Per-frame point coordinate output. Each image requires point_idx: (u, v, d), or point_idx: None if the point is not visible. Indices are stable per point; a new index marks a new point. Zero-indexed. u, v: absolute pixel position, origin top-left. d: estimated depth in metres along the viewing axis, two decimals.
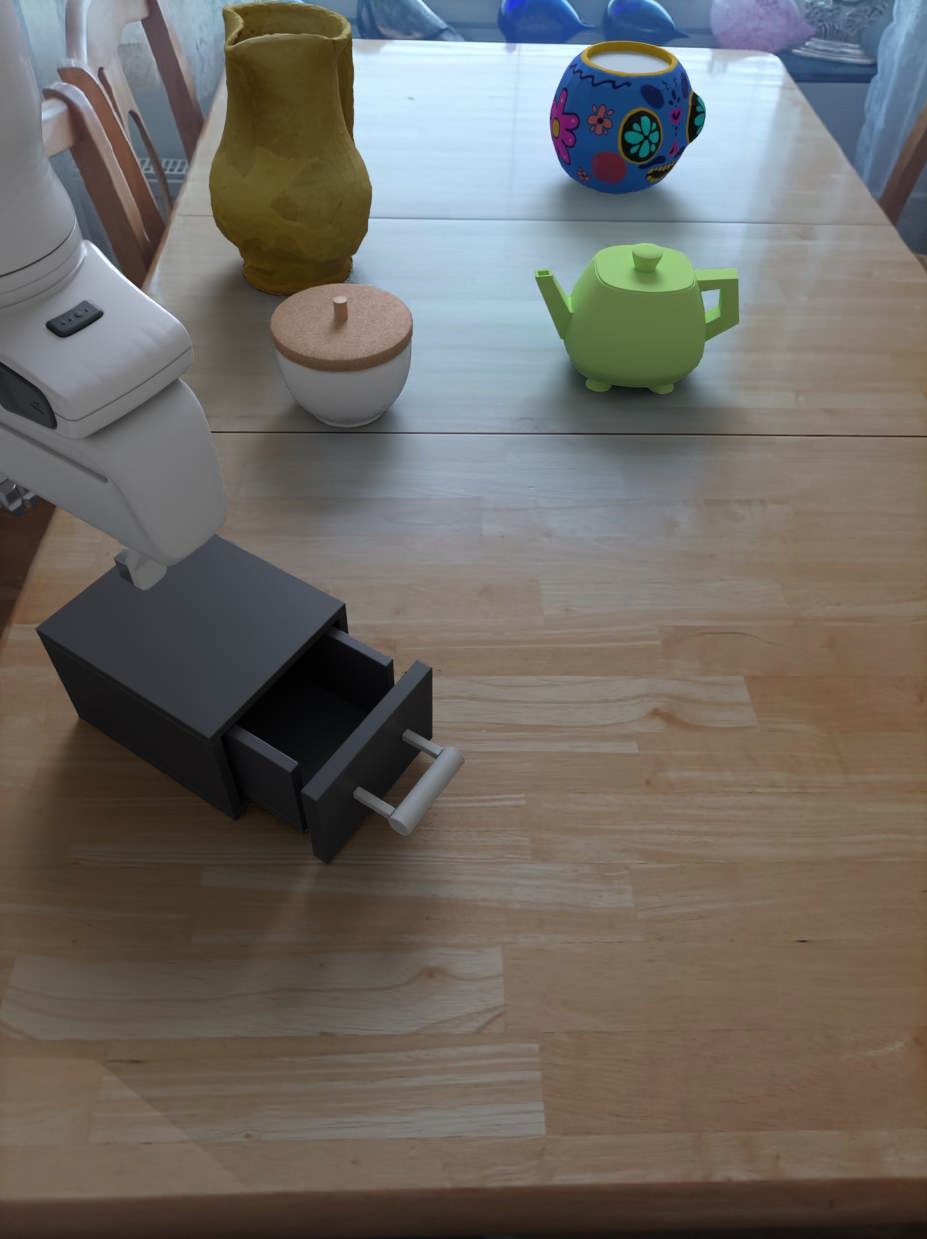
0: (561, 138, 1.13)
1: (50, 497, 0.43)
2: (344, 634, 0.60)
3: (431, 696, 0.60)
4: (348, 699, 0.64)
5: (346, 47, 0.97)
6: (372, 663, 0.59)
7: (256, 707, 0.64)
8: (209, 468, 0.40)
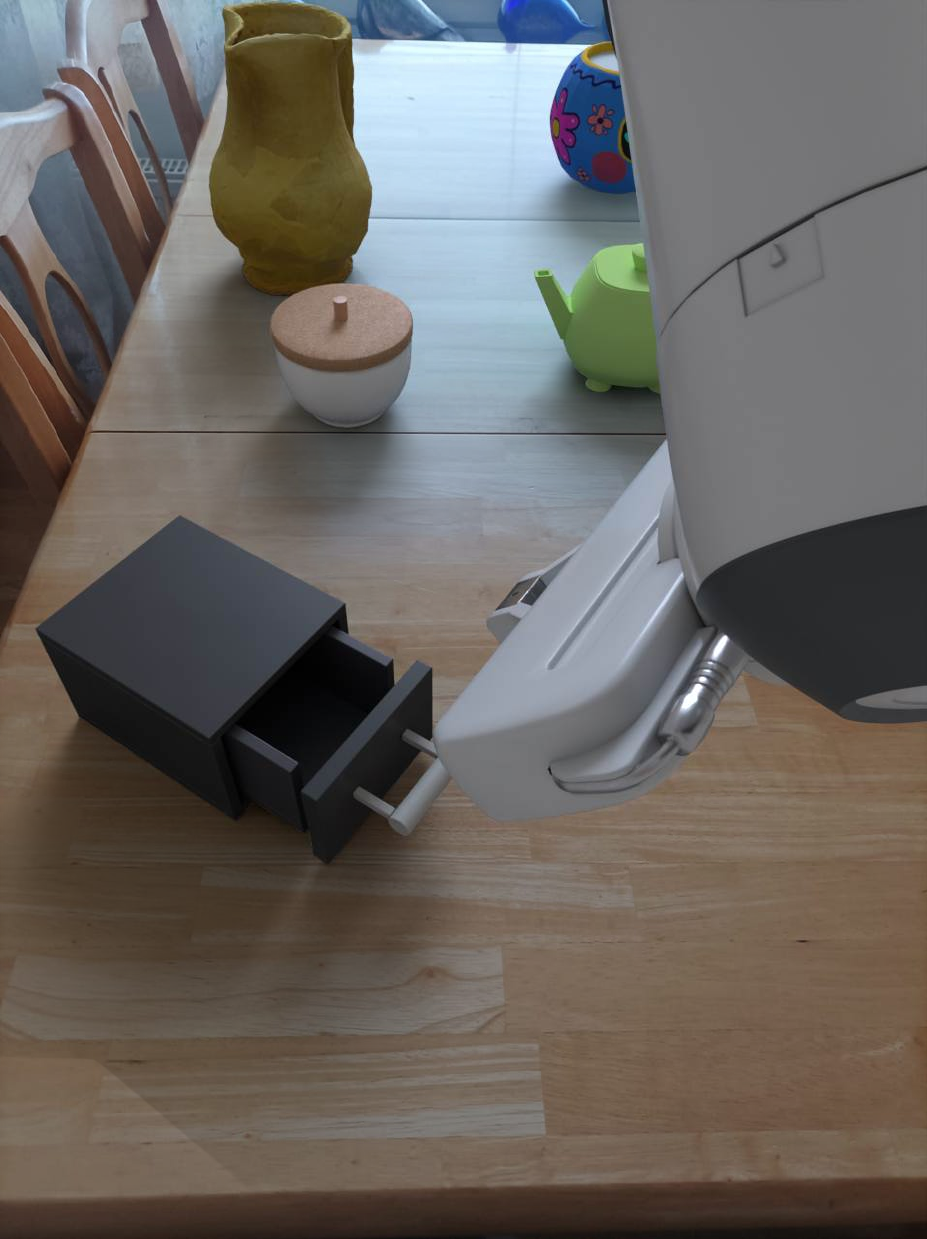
0: (561, 138, 1.13)
1: None
2: (344, 634, 0.60)
3: (431, 696, 0.60)
4: (348, 699, 0.64)
5: (346, 47, 0.97)
6: (372, 663, 0.59)
7: (256, 707, 0.64)
8: None
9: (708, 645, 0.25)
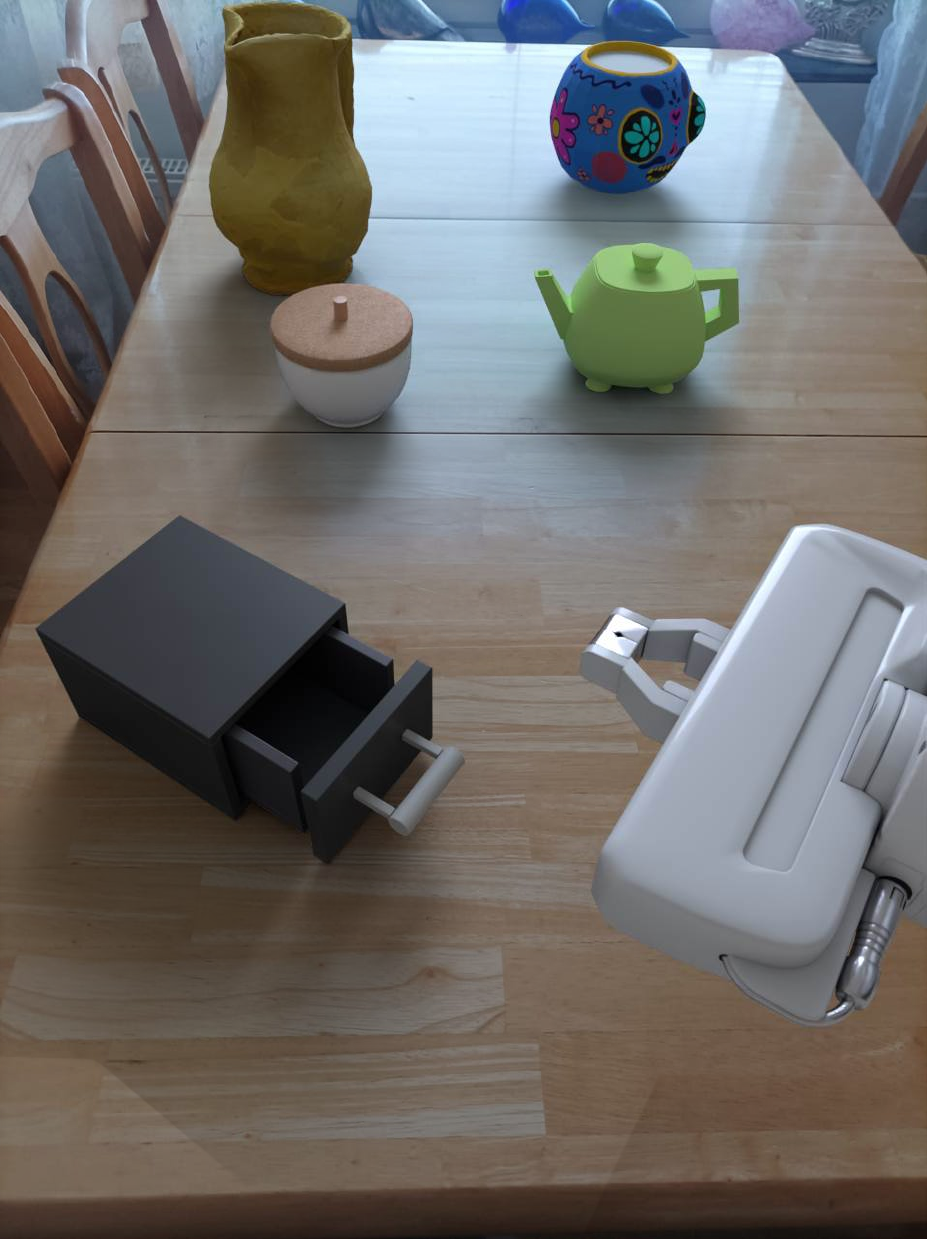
0: (561, 138, 1.13)
1: None
2: (344, 634, 0.60)
3: (431, 696, 0.60)
4: (348, 699, 0.64)
5: (346, 47, 0.97)
6: (372, 663, 0.59)
7: (256, 707, 0.64)
8: None
9: (880, 907, 0.30)
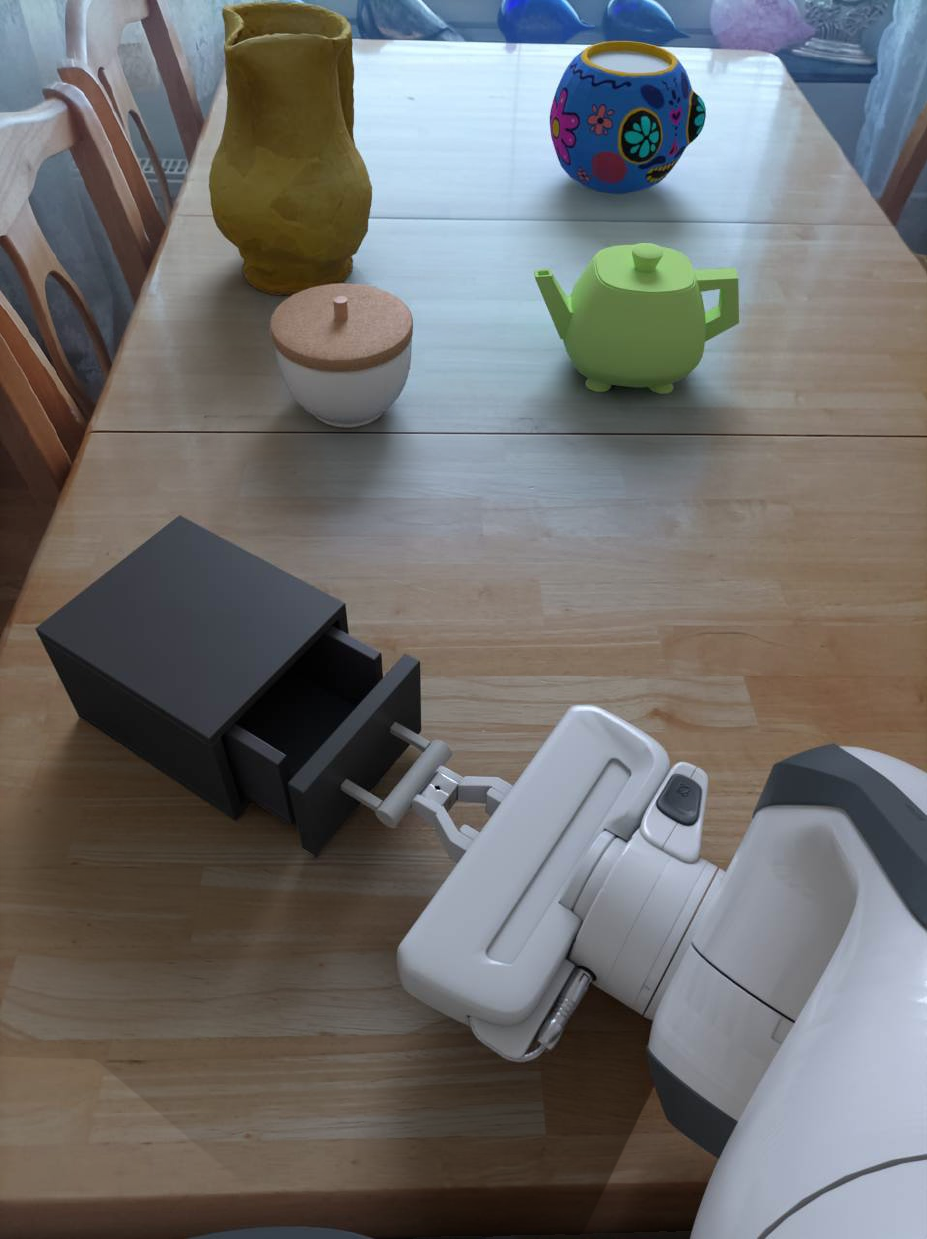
0: (561, 138, 1.13)
1: None
2: (333, 628, 0.60)
3: (419, 689, 0.60)
4: (337, 693, 0.64)
5: (346, 47, 0.97)
6: (360, 656, 0.59)
7: None
8: None
9: (572, 987, 0.48)
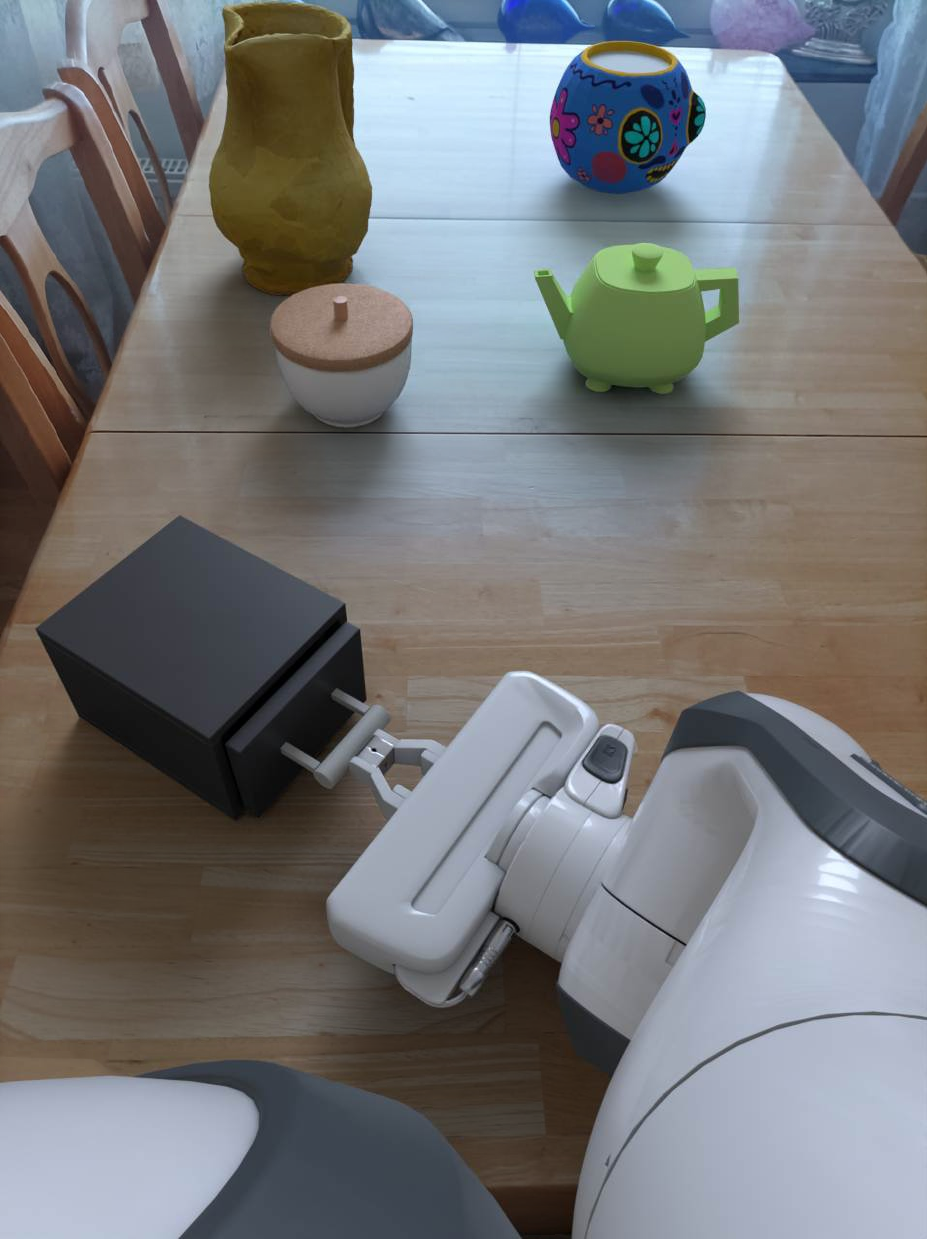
0: (561, 138, 1.13)
1: None
2: None
3: (361, 657, 0.62)
4: None
5: (346, 47, 0.97)
6: None
7: None
8: None
9: (495, 937, 0.50)
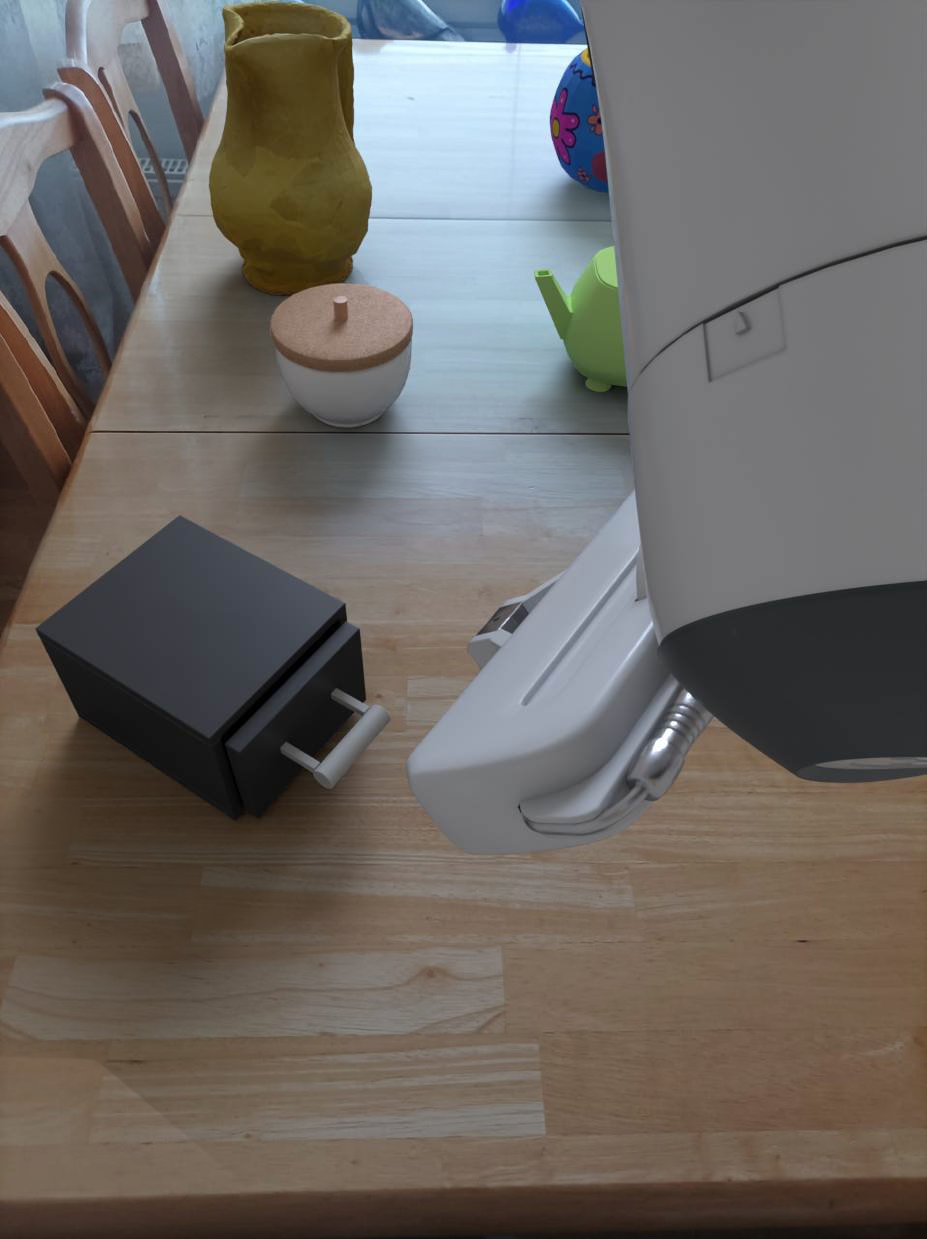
0: (561, 138, 1.13)
1: None
2: None
3: (361, 657, 0.62)
4: None
5: (346, 47, 0.97)
6: None
7: None
8: None
9: (681, 688, 0.25)
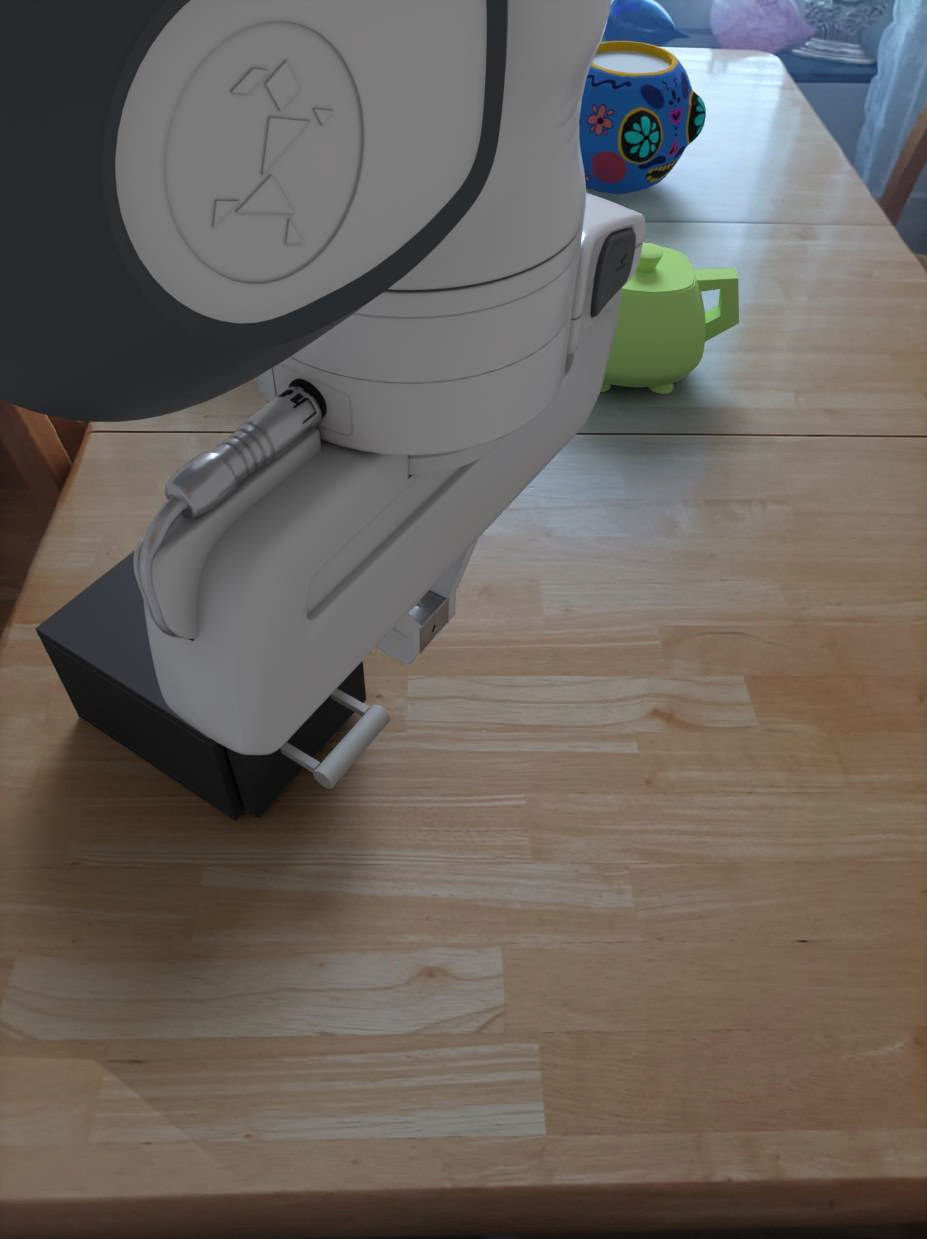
0: None
1: (494, 513, 0.32)
2: None
3: None
4: None
5: None
6: None
7: None
8: None
9: None
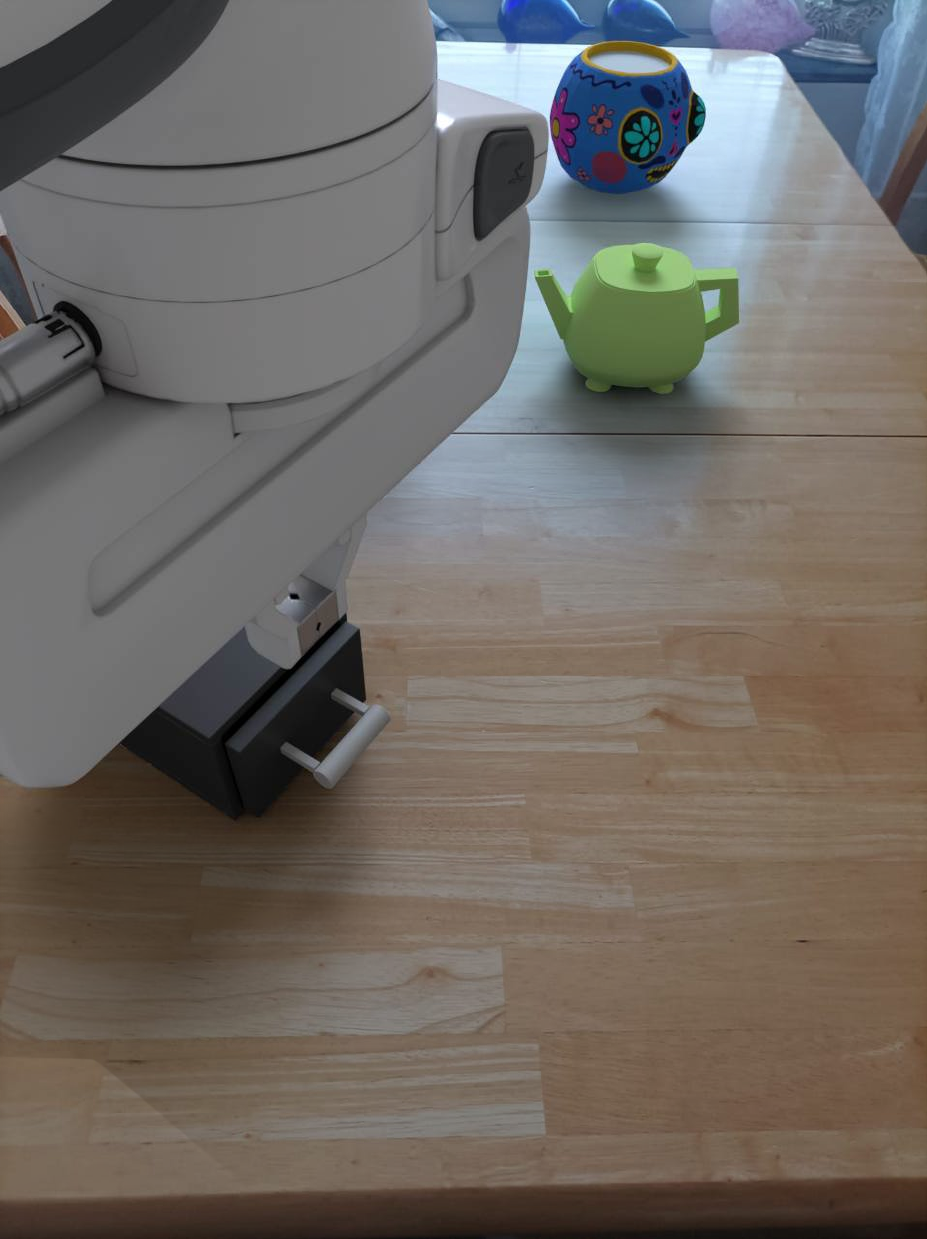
0: (561, 138, 1.13)
1: (380, 487, 0.27)
2: None
3: (361, 657, 0.62)
4: None
5: None
6: None
7: None
8: None
9: None
